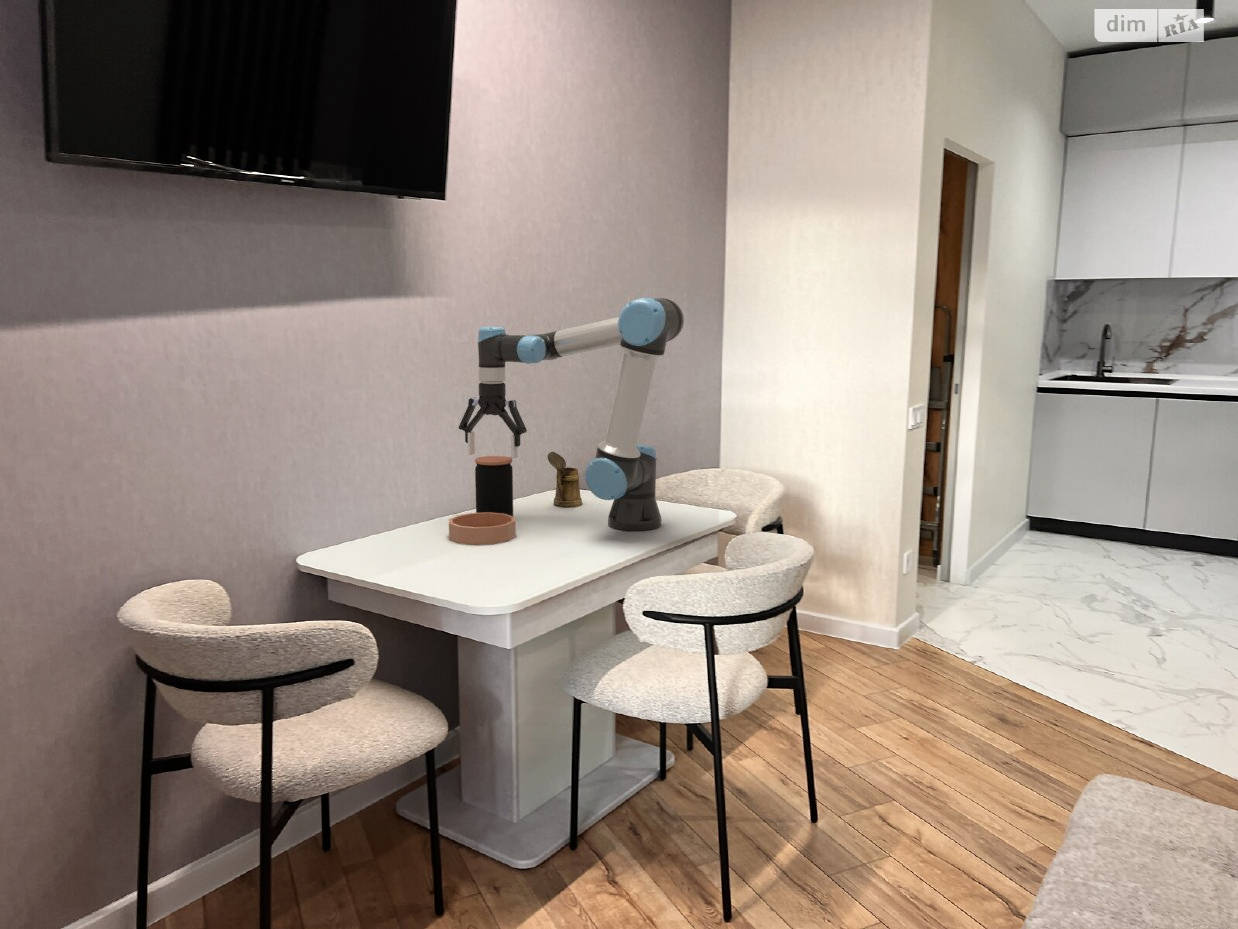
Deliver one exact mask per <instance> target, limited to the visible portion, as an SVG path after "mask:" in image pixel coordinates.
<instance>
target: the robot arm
mask: <svg viewBox="0 0 1238 929" xmlns="http://www.w3.org/2000/svg"><path fill="white" fill-rule="evenodd" d="M684 321H685V319H684V313H683V311H682V309H681V307H680V305H678V304H677V303H676V302H675V301H674V300H671V299H668V298H664V297H658V298H656V297H654V298H653V297H641V298H636V299H634V300H631V301H629V302H628V303H627V304H626V305H625V306H624V307H623V308H622V310H621V311H620V313H619V316H617V317H612V318H608V319H604V320H600V321H595V322H590V323H587V324H586V323H585V324H582V325H581V324H580V325H577V326H574V327H573V326H572V327H569V328H564V329H561V330H560V329H559V330H556V331H550V332H546V333H541V334H536V333H535V334H526V335H523V334H522V335H521V334H516V335H515V334H514V335H513V334H507V332H506V328H504V327H501V326H482V327H480V328H479V329H478V339H477V347H478V348H477V349H478V381H479V383H478V398H476V397H470V398H469V399H468V404H467V407H466V409H465V412H464V414H463V416H462V419H461V420H460V423H459V425H458V429H459V430H461V431H464V442H465V443H466V444H467V456H472V455H475V454H476V452H475V451H476V449H475V447H476V446H475V445H476V444H475V440H476V438H475V431H473V429H474V428H476V426H477V424H478V423H479V422H480V421H481V419H482V418H483V417H484V416H490V415H492V416H498V417H499V418H501V419H502V420H503V422H504V424H505V425H506V426H507V427H508V430H510V431H511V433H512V435H511V436H510V448H511V450H510V455H511V456H510V457H511V458H512V460H513V459H516V458H518V455H519V454H518V452H519V450H518V448H519V447H520V446H521V435H523V434H525V433H527V431H528V430H527V428H526V425H525V423H524V421H523V418H522V416H521V414H520V412H519V410H518V407H517V401H516V399H511V400H506V393H507V392H506V383H505V381H506V363H508V362H509V363H519V364H520V363H522V364H527V365H528V364H529V365H530V364H538V363H541V362H542V361H553V360H556V359H560V358H563V357H567V356H573V355H577V354H582V353H586V352H591V351H596V350H601V349H605V348H610V347H614V346H620V349H621V350H622V352H623V356H622V361H621V367H620V371H619V375H618V379H617V384H616V388H615V389H616V390H615V393H614V398H613V402H612V406H611V411H610V416H609V420H608V424H607V431H606V434H605V439H604V440H603V441H601V442H600V443H598V444H597V448H596V453H595V458H594V459H593V460H591V461H590V462H589V464H588V465H587V466H586V469H585V472H584V473H585V474H584V479H585V484H586V486H587V488H589V492H591V494H593V495H594V496H595V497H596V498H597V499H600V500H604V501H611V500H613V501H612V505H611V507H610V511H609V513H608V516H607V518H608V520H607V524H608V526H609V527H611V528H613V529H616V530H622V531H636V532H637V531H639V532H641V531H650V530H654V529H657V528H659V527H661V526H662V516H661V512H660V509H659V506H658V502H657V499H656V484H657V483H656V482H657V480H656V478H657V458H658V457H657V454H656V448H655V447H654V446H653V445H652V446H651V445H644V444H642V445H641V444H638V441H639V437H640V433H641V428H642V424H643V419H644V417H645V416H644V415H645V411H646V408H647V403H648V398H649V393H650V389H651V386H652V385H651V384H652V382H653V376H654V372H655V369H656V363H657V360H660V358H662V357H663V356H664V355H665V351H666V346H667V343H668V342H671V341H673V340H674V339H677V338H676V337H678V336H679V335H680V333H681V332H682V331H683V330H682V329H683V327H684V323H685V322H684ZM476 406H479V409H478V411H477V412H476V414H475V416H474V417H473V418H472V416H473V414H474V411H475V409H476ZM506 407H507V408H508V410H509V411H510V414H511V416H512V418H513V419H512V418H511V417H510V415H509V412H508V411H507V410H506ZM471 418H472V419H471ZM470 419H471V420H470Z"/></svg>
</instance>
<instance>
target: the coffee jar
mask: <svg viewBox="0 0 1238 929" xmlns="http://www.w3.org/2000/svg"><path fill="white" fill-rule="evenodd" d="M474 463H475V464H476V466H475V468H474V478H475V480H474V481H475V483H474V484H475V485H474V486H475V513H483V512H491V513H503V514H507V515H510V516H514V486H513V485H514V482H513V481H514V480H513V479H514V478H513V477H514V474H513V473H514V472H513V465H511V464H512V463H513V459H512V458H511V456H506V455H505V456H504V455H486V456H479V457H476V458H475V459H474Z"/></svg>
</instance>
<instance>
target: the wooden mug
mask: <svg viewBox="0 0 1238 929" xmlns="http://www.w3.org/2000/svg"><path fill="white" fill-rule="evenodd" d="M546 458H547V461H548V462H549V464H550V465H551V466H552V467H553V468H554V469H556V488H555V494H554V498H553V506H555V507H559V508H575V507H576V508H577V507H580V506H582V505H583V499H582V497H581V496H582V495H581V490H580V489H581V488H580V480H579V479H580V474H579V470H578V468H576V467H570V466H569V467H567V463H566V462H567V461H566V460H565V458H564V457H563V456H561V455H560V454H558V453H557V452H555V451H550V452H548V454H547V457H546Z"/></svg>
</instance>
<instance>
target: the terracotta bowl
mask: <svg viewBox="0 0 1238 929" xmlns="http://www.w3.org/2000/svg"><path fill="white" fill-rule="evenodd" d="M516 523H517V522H516V519H515V516H514V515H513V516H510V515H507V514H503V513H491V512H483V513H476V512H468V513H464V514H463V513H462V514H459V515H458V514H457V515H455V516H453V517H451V518H448V538H449V541H450V542H451V541H452V542H454V543H457V544H460V545H461V544H462V545H471V546H479V545H480V546H481V545H482V546H484V545H495V544H501V543H506V542H509V541H511V540H513V539H515V538H516V537H517V533H516V532H517V531H516V530H517V529H516V528H517V526H516V525H517V524H516ZM514 537H515V538H514Z"/></svg>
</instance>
